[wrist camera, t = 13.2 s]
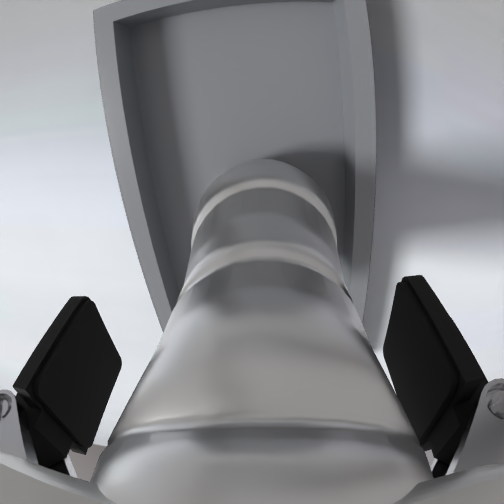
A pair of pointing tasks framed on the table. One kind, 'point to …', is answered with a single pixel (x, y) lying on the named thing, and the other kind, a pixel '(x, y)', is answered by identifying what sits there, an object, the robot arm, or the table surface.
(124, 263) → the table surface
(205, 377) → the plastic bottle
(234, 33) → the grey rectangular tray
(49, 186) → the table surface
